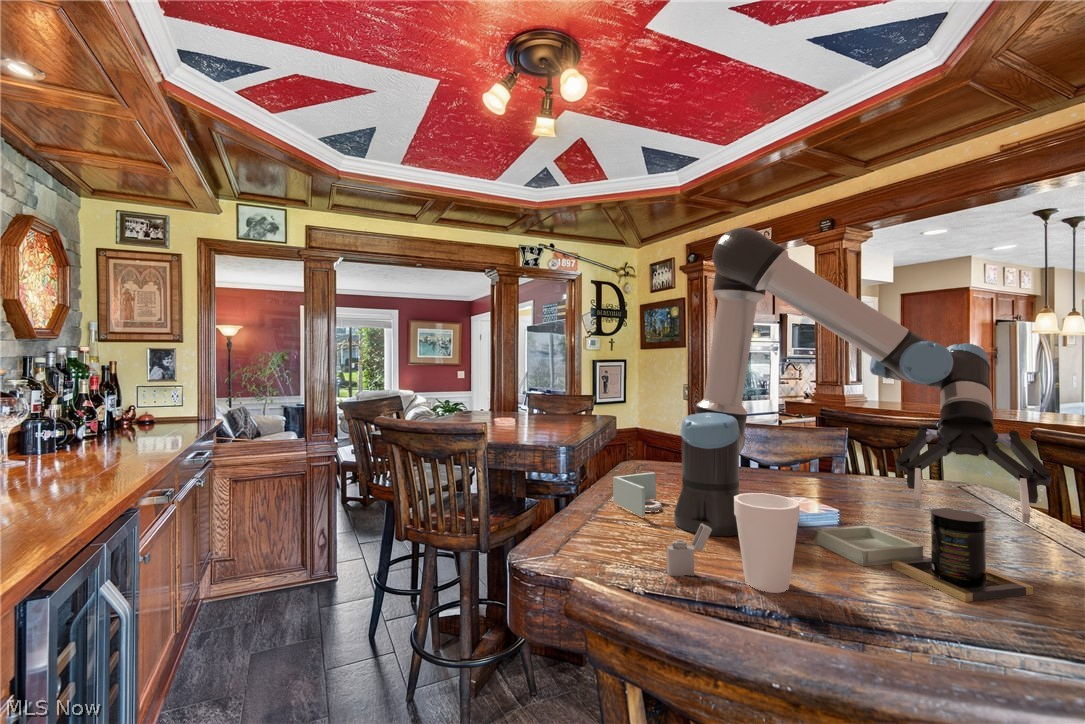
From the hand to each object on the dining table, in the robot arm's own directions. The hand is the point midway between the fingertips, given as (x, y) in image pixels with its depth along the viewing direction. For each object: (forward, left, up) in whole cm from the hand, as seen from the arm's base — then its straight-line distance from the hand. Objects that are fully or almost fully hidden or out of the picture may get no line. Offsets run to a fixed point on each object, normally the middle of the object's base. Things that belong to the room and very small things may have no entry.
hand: (968, 510), depth 81 cm
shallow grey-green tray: (-9, +11, -10) cm, 17 cm away
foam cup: (-35, +2, -10) cm, 37 cm away
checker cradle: (-5, -3, -10) cm, 12 cm away
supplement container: (-5, -3, -10) cm, 12 cm away
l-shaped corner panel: (-38, +45, -11) cm, 60 cm away
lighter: (-45, +8, -10) cm, 47 cm away
